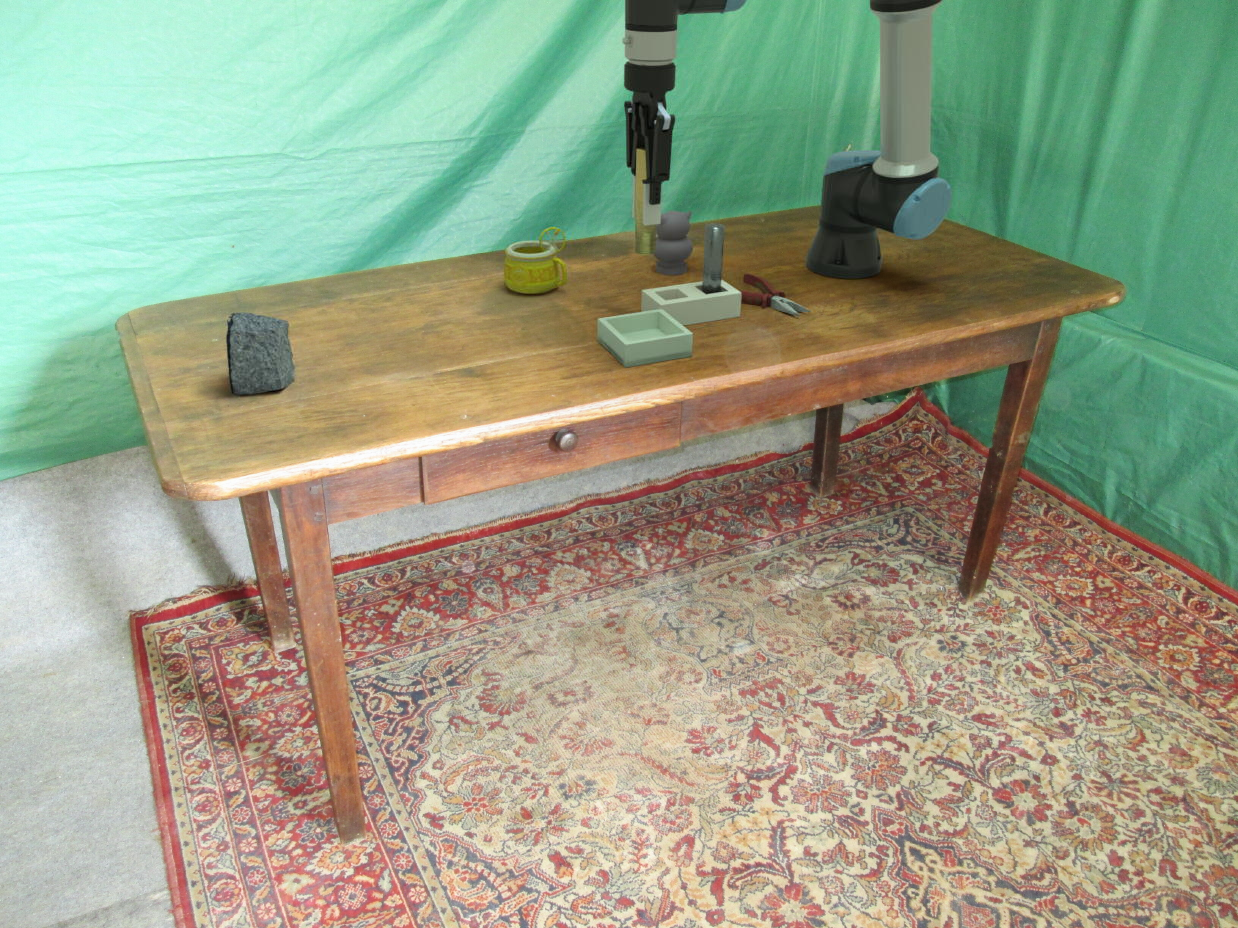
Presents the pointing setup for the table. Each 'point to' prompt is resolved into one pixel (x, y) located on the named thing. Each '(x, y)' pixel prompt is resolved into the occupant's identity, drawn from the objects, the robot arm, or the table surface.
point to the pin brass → (643, 233)
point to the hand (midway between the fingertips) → (646, 220)
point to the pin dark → (713, 258)
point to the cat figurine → (673, 243)
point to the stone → (258, 354)
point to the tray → (644, 337)
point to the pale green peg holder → (693, 302)
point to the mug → (534, 265)
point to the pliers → (768, 296)
